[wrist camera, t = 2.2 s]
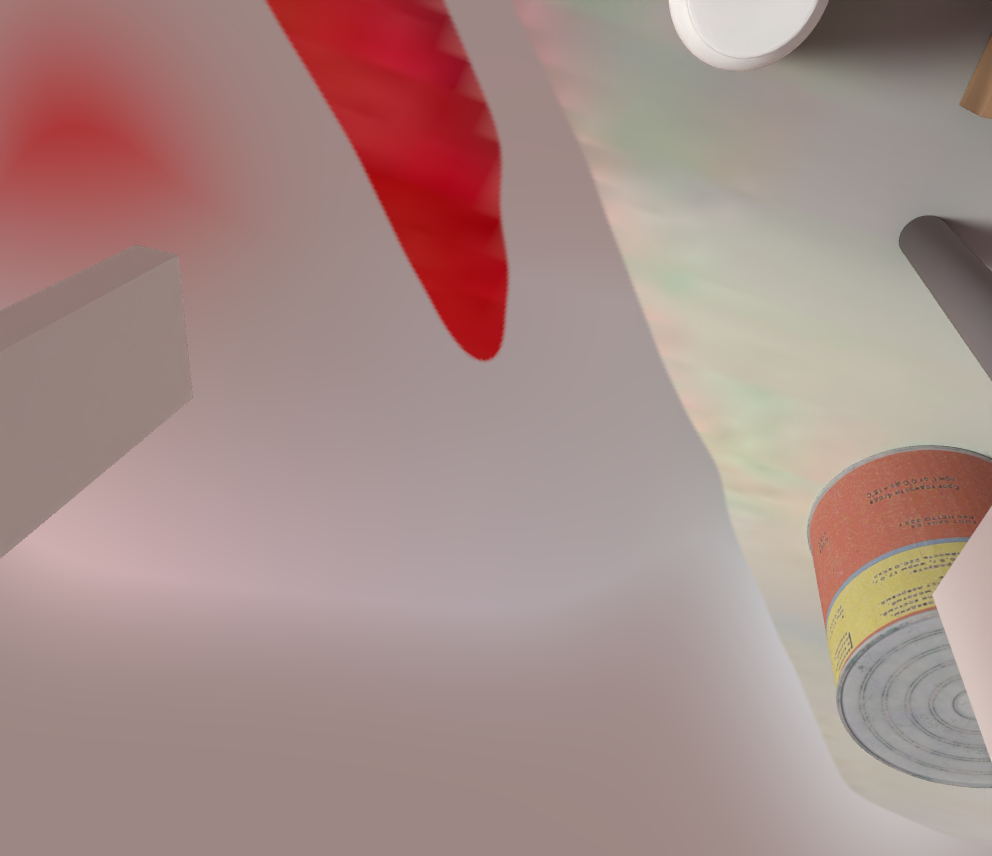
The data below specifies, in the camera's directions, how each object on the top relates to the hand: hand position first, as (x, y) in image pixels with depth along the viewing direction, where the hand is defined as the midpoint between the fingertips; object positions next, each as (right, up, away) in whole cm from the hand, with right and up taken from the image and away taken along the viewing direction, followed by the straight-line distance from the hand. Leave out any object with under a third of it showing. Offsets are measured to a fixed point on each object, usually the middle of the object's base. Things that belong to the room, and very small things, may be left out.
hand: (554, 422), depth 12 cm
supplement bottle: (+9, +18, +19) cm, 28 cm away
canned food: (+23, -6, +30) cm, 38 cm away
